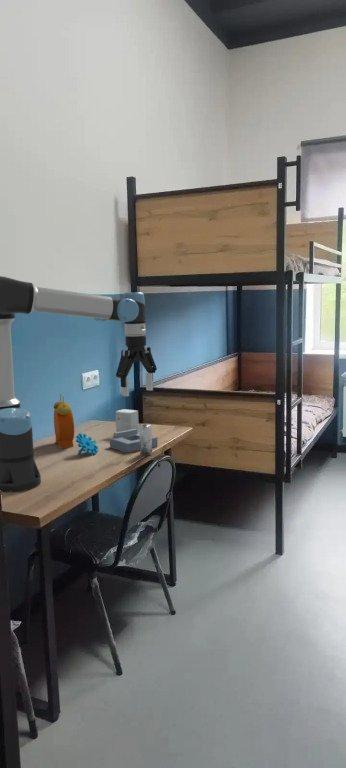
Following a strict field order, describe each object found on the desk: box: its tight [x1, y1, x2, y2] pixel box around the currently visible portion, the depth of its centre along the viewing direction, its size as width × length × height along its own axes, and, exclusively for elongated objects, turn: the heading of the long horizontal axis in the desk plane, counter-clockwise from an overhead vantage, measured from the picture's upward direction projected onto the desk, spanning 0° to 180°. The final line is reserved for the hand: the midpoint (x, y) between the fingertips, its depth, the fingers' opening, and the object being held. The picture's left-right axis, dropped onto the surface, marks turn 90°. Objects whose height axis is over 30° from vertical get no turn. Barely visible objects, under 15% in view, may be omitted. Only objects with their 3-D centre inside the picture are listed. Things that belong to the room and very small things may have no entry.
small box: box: [115, 408, 140, 433], centre depth 245 cm, size 8×6×10 cm
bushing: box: [139, 423, 153, 457], centre depth 216 cm, size 4×4×11 cm
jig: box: [109, 429, 158, 454], centre depth 227 cm, size 14×12×5 cm
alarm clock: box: [53, 393, 75, 449], centre depth 232 cm, size 13×6×20 cm, turn 20°
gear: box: [75, 432, 99, 456], centre depth 220 cm, size 11×6×10 cm
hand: (137, 393), depth 216 cm, fingers open, 13 cm apart
